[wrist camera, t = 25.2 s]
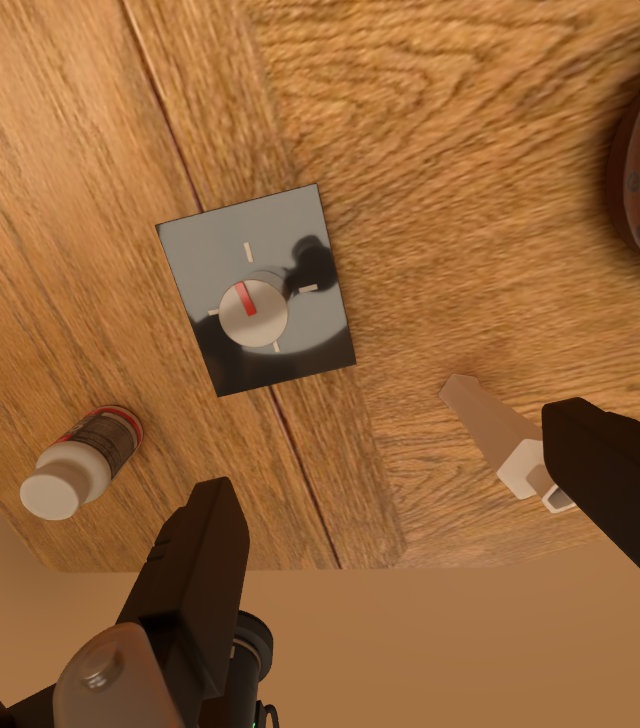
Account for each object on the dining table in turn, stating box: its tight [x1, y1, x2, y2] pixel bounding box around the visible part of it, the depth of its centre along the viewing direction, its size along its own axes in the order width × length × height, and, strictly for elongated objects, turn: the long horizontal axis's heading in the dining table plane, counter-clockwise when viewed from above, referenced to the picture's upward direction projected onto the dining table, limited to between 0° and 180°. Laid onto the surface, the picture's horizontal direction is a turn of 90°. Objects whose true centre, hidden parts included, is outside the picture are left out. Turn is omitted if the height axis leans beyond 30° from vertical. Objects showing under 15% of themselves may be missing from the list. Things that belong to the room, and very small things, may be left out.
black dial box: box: [155, 183, 357, 397], centre depth 30 cm, size 14×12×3 cm
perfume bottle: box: [438, 374, 576, 513], centre depth 28 cm, size 5×4×15 cm
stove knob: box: [219, 271, 291, 348], centre depth 26 cm, size 4×4×6 cm
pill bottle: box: [20, 406, 143, 520], centre depth 31 cm, size 5×5×10 cm
